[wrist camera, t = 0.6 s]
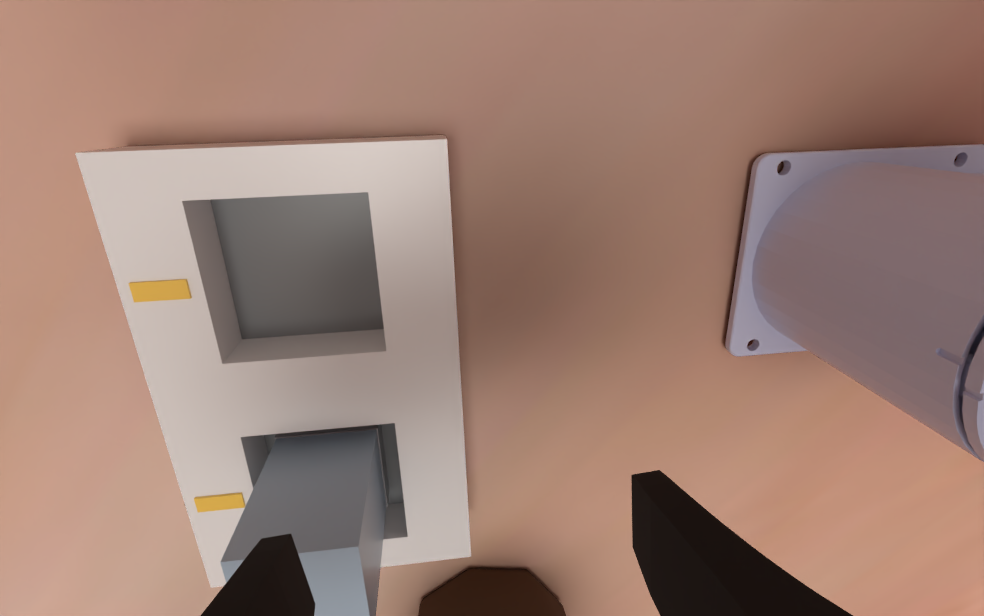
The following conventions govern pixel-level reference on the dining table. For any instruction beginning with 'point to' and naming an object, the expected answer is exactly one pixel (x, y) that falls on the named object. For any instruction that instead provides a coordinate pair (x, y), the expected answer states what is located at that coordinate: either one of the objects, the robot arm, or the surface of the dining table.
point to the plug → (323, 513)
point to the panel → (294, 316)
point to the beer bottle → (492, 595)
